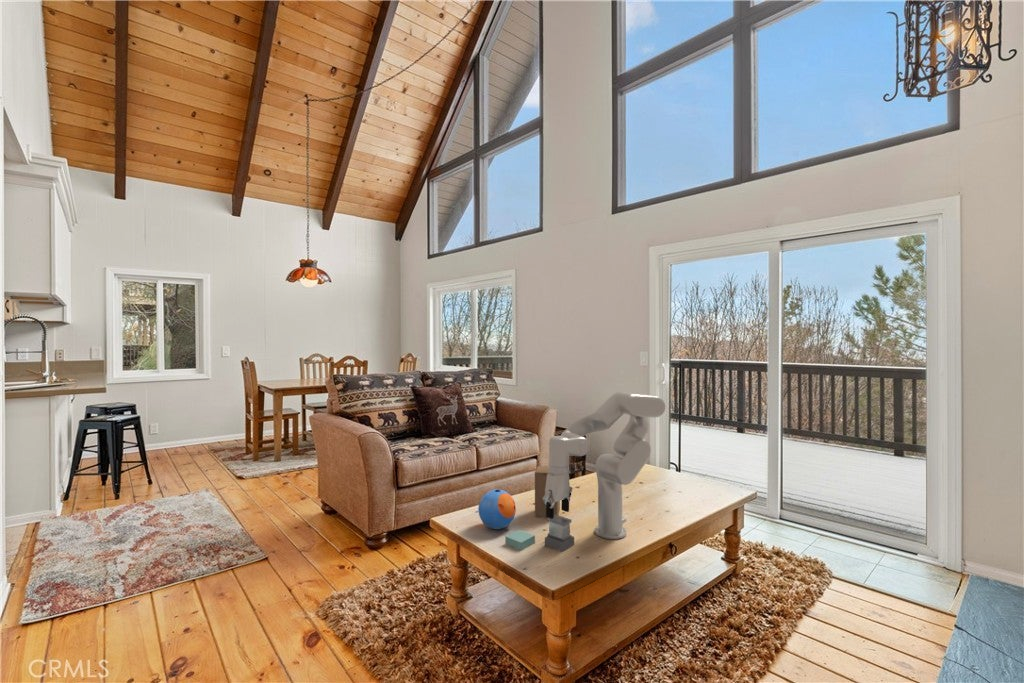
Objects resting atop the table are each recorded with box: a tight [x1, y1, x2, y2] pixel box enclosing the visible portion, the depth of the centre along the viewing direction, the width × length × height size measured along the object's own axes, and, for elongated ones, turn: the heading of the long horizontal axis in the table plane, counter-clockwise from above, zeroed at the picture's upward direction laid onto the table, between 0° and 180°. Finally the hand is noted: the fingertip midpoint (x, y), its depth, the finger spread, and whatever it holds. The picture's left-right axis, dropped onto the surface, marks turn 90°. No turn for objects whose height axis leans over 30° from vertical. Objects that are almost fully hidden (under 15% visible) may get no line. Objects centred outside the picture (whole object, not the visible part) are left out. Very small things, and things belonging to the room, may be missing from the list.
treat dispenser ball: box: [478, 489, 517, 530], centre depth 195 cm, size 16×15×15 cm
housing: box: [546, 514, 573, 542], centre depth 178 cm, size 5×8×7 cm, turn 48°
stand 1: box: [504, 529, 536, 551], centre depth 180 cm, size 8×8×3 cm
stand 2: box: [544, 535, 575, 553], centre depth 178 cm, size 8×8×3 cm
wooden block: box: [534, 465, 561, 519], centre depth 208 cm, size 10×10×20 cm
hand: (557, 514), depth 178 cm, fingers open, 9 cm apart
